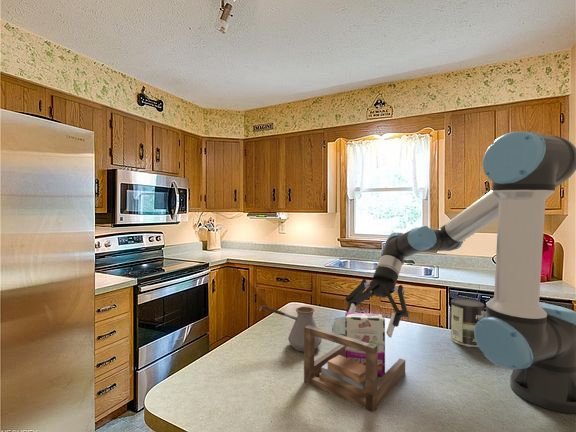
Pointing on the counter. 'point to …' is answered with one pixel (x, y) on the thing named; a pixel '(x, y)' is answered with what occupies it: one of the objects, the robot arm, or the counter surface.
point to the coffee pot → (299, 326)
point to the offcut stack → (345, 374)
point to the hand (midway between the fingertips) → (366, 329)
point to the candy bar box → (366, 336)
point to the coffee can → (465, 320)
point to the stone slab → (339, 326)
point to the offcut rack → (312, 369)
